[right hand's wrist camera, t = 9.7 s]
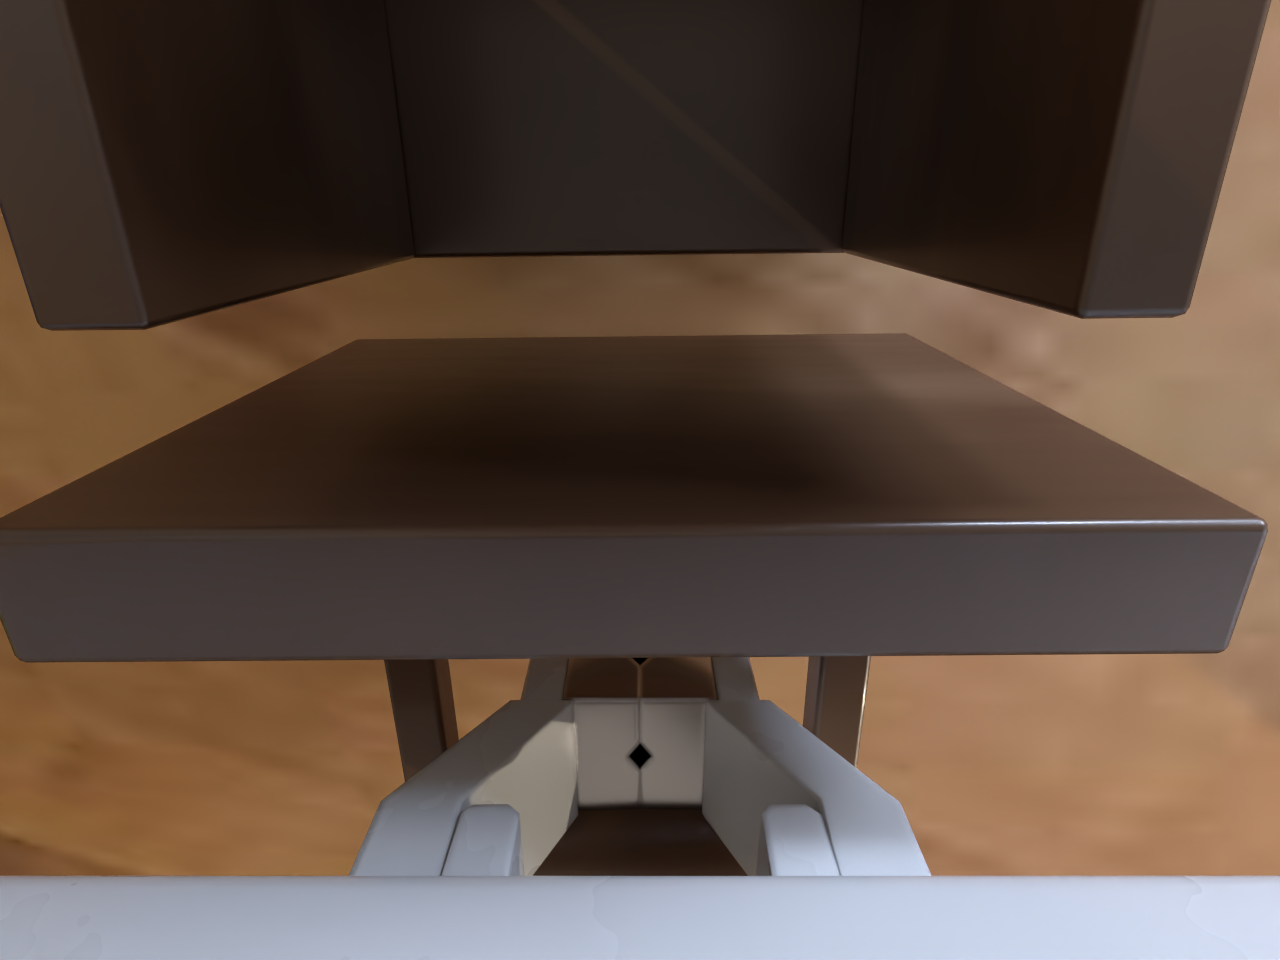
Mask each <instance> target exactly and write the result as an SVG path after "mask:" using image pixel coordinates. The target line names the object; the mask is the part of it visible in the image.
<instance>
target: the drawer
mask: <svg viewBox="0 0 1280 960" xmlns="http://www.w3.org/2000/svg"><path fill="white" fill-rule="evenodd" d="M1270 3H1271V0H0V207H1V210H2V214H3V217H4V220H5V223H6V226H7V229H8V232H9V235H10V239H11V242H12V245H13V248H14V251H15V254H16V257H17V260H18V264H19V267H20V270H21V273H22V276H23V279H24V282H25V285H26V289H27V292H28V295H29V298H30V301H31V304H32V307H33V310H34V314H35V317H36V320H37V322H38V324H39V325H40V326H41V328H45V329H49V330H52V331H64V330H145V329H149V328H152V327H156V326H160V325H164V324H167V323H171V322H175V321H179V320H182V319H186V318H190V317H194V316H197V315H201V314H205V313H209V312H212V311H216V310H220V309H224V308H227V307H231V306H235V305H239V304H242V303H246V302H250V301H254V300H257V299H261V298H265V297H269V296H272V295H276V294H280V293H284V292H287V291H291V290H295V289H299V288H302V287H306V286H310V285H314V284H317V283H321V282H325V281H329V280H332V279H336V278H340V277H344V276H347V275H351V274H355V273H359V272H362V271H366V270H370V269H374V268H377V267H381V266H385V265H389V264H392V263H396V262H400V261H404V260H407V259H411V258H444V257H526V256H608V255H690V254H772V253H848V254H851V255H855V256H858V257H862V258H866V259H869V260H873V261H876V262H880V263H884V264H887V265H891V266H894V267H898V268H902V269H905V270H909V271H912V272H916V273H920V274H923V275H927V276H930V277H934V278H938V279H941V280H945V281H948V282H952V283H956V284H959V285H963V286H966V287H970V288H974V289H977V290H981V291H984V292H988V293H992V294H995V295H999V296H1002V297H1006V298H1010V299H1013V300H1017V301H1020V302H1024V303H1028V304H1031V305H1035V306H1038V307H1042V308H1046V309H1049V310H1053V311H1056V312H1060V313H1064V314H1067V315H1071V316H1074V317H1078V318H1081V319H1089V318H1172V317H1175V316H1179V315H1182V314H1185V313H1186V311H1187V310H1188V308H1189V307H1190V303H1191V299H1192V296H1193V292H1194V288H1195V284H1196V281H1197V277H1198V273H1199V269H1200V266H1201V262H1202V258H1203V254H1204V251H1205V247H1206V243H1207V239H1208V236H1209V232H1210V228H1211V224H1212V221H1213V217H1214V213H1215V209H1216V206H1217V202H1218V198H1219V194H1220V191H1221V187H1222V183H1223V179H1224V176H1225V172H1226V168H1227V164H1228V161H1229V157H1230V153H1231V149H1232V146H1233V142H1234V138H1235V134H1236V131H1237V127H1238V123H1239V120H1240V116H1241V112H1242V108H1243V105H1244V101H1245V97H1246V93H1247V90H1248V86H1249V82H1250V78H1251V75H1252V71H1253V67H1254V63H1255V60H1256V56H1257V52H1258V48H1259V45H1260V41H1261V37H1262V33H1263V30H1264V26H1265V22H1266V18H1267V15H1268V11H1269V7H1270ZM1267 532H1268V527H1267V523H1266V522H1265V520H1264V519H1262V518H1260V517H1258V516H1256V515H1254V514H1253V513H1251V512H1249V511H1247V510H1245V509H1243V508H1241V507H1239V506H1237V505H1235V504H1233V503H1231V502H1229V501H1227V500H1226V499H1224V498H1222V497H1220V496H1218V495H1216V494H1214V493H1212V492H1210V491H1208V490H1206V489H1204V488H1202V487H1201V486H1199V485H1197V484H1195V483H1193V482H1191V481H1189V480H1187V479H1185V478H1183V477H1181V476H1179V475H1177V474H1176V473H1174V472H1172V471H1170V470H1168V469H1166V468H1164V467H1162V466H1160V465H1158V464H1156V463H1154V462H1152V461H1151V460H1149V459H1147V458H1145V457H1143V456H1141V455H1139V454H1137V453H1135V452H1133V451H1131V450H1129V449H1127V448H1126V447H1124V446H1122V445H1120V444H1118V443H1116V442H1114V441H1112V440H1110V439H1108V438H1106V437H1104V436H1102V435H1101V434H1099V433H1097V432H1095V431H1093V430H1091V429H1089V428H1087V427H1085V426H1083V425H1081V424H1079V423H1077V422H1076V421H1074V420H1072V419H1070V418H1068V417H1066V416H1064V415H1062V414H1060V413H1058V412H1056V411H1054V410H1052V409H1051V408H1049V407H1047V406H1045V405H1043V404H1041V403H1039V402H1037V401H1035V400H1033V399H1031V398H1029V397H1027V396H1026V395H1024V394H1022V393H1020V392H1018V391H1016V390H1014V389H1012V388H1010V387H1008V386H1006V385H1004V384H1002V383H1001V382H999V381H997V380H995V379H993V378H991V377H989V376H987V375H985V374H983V373H981V372H979V371H977V370H976V369H974V368H972V367H970V366H968V365H966V364H964V363H962V362H960V361H958V360H956V359H954V358H952V357H950V356H949V355H947V354H945V353H943V352H941V351H939V350H937V349H935V348H933V347H931V346H929V345H927V344H925V343H924V342H922V341H920V340H918V339H916V338H914V337H912V336H910V335H908V334H906V333H902V334H813V335H725V336H636V337H547V338H459V339H370V340H356V341H353V342H351V343H349V344H347V345H345V346H343V347H341V348H339V349H337V350H335V351H333V352H331V353H329V354H327V355H325V356H323V357H321V358H319V359H317V360H315V361H313V362H311V363H309V364H307V365H305V366H303V367H301V368H299V369H297V370H295V371H293V372H291V373H289V374H287V375H285V376H283V377H281V378H279V379H277V380H275V381H273V382H271V383H269V384H267V385H265V386H263V387H261V388H259V389H257V390H255V391H253V392H251V393H249V394H247V395H245V396H243V397H241V398H239V399H237V400H235V401H233V402H231V403H229V404H227V405H225V406H223V407H221V408H219V409H217V410H215V411H213V412H211V413H209V414H207V415H205V416H203V417H201V418H199V419H197V420H195V421H193V422H191V423H189V424H187V425H185V426H183V427H181V428H179V429H177V430H175V431H173V432H171V433H169V434H167V435H165V436H163V437H161V438H159V439H157V440H155V441H153V442H151V443H149V444H147V445H145V446H143V447H141V448H139V449H137V450H135V451H133V452H131V453H129V454H127V455H125V456H123V457H121V458H119V459H117V460H115V461H113V462H111V463H109V464H107V465H105V466H103V467H101V468H99V469H97V470H95V471H93V472H91V473H89V474H87V475H85V476H83V477H81V478H79V479H77V480H75V481H73V482H71V483H69V484H67V485H65V486H63V487H61V488H59V489H57V490H55V491H53V492H51V493H49V494H47V495H45V496H43V497H41V498H39V499H37V500H35V501H33V502H31V503H29V504H27V505H25V506H23V507H21V508H19V509H17V510H15V511H13V512H11V513H9V514H7V515H5V516H3V517H1V518H0V619H1V622H2V624H3V627H4V629H5V632H6V634H7V637H8V639H9V642H10V644H11V647H12V649H13V652H14V654H15V656H16V657H17V658H18V659H19V660H21V661H23V662H139V661H270V660H384V662H385V668H386V673H387V679H388V685H389V691H390V697H391V702H392V708H393V714H394V720H395V726H396V732H397V737H398V743H399V749H400V755H401V761H402V766H403V772H404V778H405V782H406V781H408V780H409V779H410V778H411V777H413V776H414V775H415V774H417V773H418V772H419V771H420V770H422V769H423V768H424V767H426V766H427V765H428V764H429V763H431V762H432V761H433V760H435V759H436V758H437V757H438V756H440V755H441V754H442V753H444V752H445V751H446V750H447V749H449V748H450V747H451V746H453V745H454V744H455V743H456V742H458V741H459V738H458V731H457V723H456V715H455V708H454V700H453V693H452V685H451V678H450V670H449V663H448V659H532V658H662V657H793V656H809V663H808V674H807V685H806V697H805V708H804V719H803V727H804V728H806V729H807V730H808V731H809V732H811V733H812V734H813V735H815V736H816V737H817V738H818V739H820V740H821V741H822V742H824V743H825V744H826V745H827V746H829V747H830V748H831V749H832V750H834V751H835V752H836V753H838V754H839V755H840V756H841V757H843V758H844V759H845V760H847V761H848V762H849V763H850V764H852V765H853V766H854V767H855V768H857V761H858V754H859V746H860V738H861V730H862V722H863V715H864V707H865V699H866V691H867V683H868V676H869V668H870V660H871V656H924V655H1055V654H1185V653H1219V652H1222V651H1224V650H1225V649H1226V648H1227V647H1228V645H1229V642H1230V639H1231V636H1232V633H1233V631H1234V628H1235V625H1236V622H1237V619H1238V616H1239V613H1240V610H1241V607H1242V604H1243V602H1244V599H1245V596H1246V593H1247V590H1248V587H1249V584H1250V581H1251V578H1252V576H1253V573H1254V570H1255V567H1256V564H1257V561H1258V558H1259V555H1260V552H1261V550H1262V547H1263V544H1264V541H1265V538H1266V535H1267ZM533 876H748V875H747V874H746V872H745V871H744V870H743V868H742V867H741V866H740V864H739V863H738V862H737V860H736V859H735V858H734V856H733V855H732V854H731V852H730V851H729V850H728V848H727V847H726V846H725V844H724V843H723V842H722V840H721V839H720V838H719V836H718V835H717V834H716V832H715V831H714V830H713V828H712V827H711V826H710V824H709V823H708V822H707V820H706V819H705V817H704V816H703V814H702V810H665V809H632V810H598V811H578V816H577V817H576V819H575V820H574V821H573V823H572V824H571V825H570V827H569V828H568V829H567V831H566V832H565V833H564V835H563V836H562V837H561V839H560V840H559V841H558V843H557V844H556V845H555V847H554V848H553V849H552V851H551V852H550V853H549V854H548V856H547V857H546V858H545V860H544V861H543V862H542V864H541V865H540V866H539V868H538V869H537V870H536V872H535V873H534V874H533Z"/></svg>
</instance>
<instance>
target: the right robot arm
mask: <svg viewBox="0 0 1280 960" xmlns="http://www.w3.org/2000/svg"><path fill="white" fill-rule="evenodd" d="M632 809H665V810H702V814H703V816H704V817H705V819H706V820H707V822H708V823H709V824H710V826H711V827H712V828H713V830H714V831H715V832H716V834H717V835H718V836H719V838H720V839H721V840H722V842H723V843H724V844H725V846H726V847H727V848H728V850H729V851H730V852H731V854H732V855H733V856H734V858H735V859H736V860H737V862H738V863H739V864H740V866H741V867H742V868H743V870H744V871H745V872H746V874H747V875H748V876H533V874H534V873H535V872H536V870H537V869H538V868H539V866H540V865H541V864H542V862H543V861H544V860H545V858H546V857H547V856H548V854H549V853H550V852H551V851H552V849H553V848H554V847H555V845H556V844H557V843H558V841H559V840H560V839H561V837H562V836H563V835H564V833H565V832H566V831H567V829H568V828H569V827H570V825H571V824H572V823H573V821H574V820H575V819H576V817H577V816H578V811H598V810H632ZM0 960H1280V876H931V874H930V871H929V869H928V867H927V864H926V862H925V860H924V857H923V855H922V853H921V850H920V848H919V846H918V843H917V841H916V839H915V836H914V834H913V832H912V829H911V827H910V825H909V822H908V820H907V817H906V815H905V813H904V810H903V808H902V806H901V803H900V802H899V801H898V800H896V799H895V798H894V797H893V796H891V795H890V794H889V793H887V792H886V791H885V790H884V789H882V788H881V787H880V786H878V785H877V784H876V783H875V782H873V781H872V780H871V779H870V778H868V777H867V776H866V775H864V774H863V773H862V772H861V771H859V770H858V769H857V768H855V767H854V766H853V765H852V764H850V763H849V762H848V761H847V760H845V759H844V758H843V757H841V756H840V755H839V754H838V753H836V752H835V751H834V750H832V749H831V748H830V747H829V746H827V745H826V744H825V743H824V742H822V741H821V740H820V739H818V738H817V737H816V736H815V735H813V734H812V733H811V732H809V731H808V730H807V729H806V728H804V727H803V726H802V725H801V724H799V723H798V722H797V721H795V720H794V719H793V718H792V717H790V716H789V715H788V714H787V713H785V712H784V711H783V710H781V709H780V708H779V707H778V706H776V705H775V704H774V703H772V702H771V701H770V700H759V696H758V692H757V687H756V683H755V679H754V675H753V671H752V667H751V663H750V658H749V657H662V658H532V659H530V662H529V667H528V671H527V675H526V679H525V683H524V688H523V692H522V696H521V700H511V701H509V702H508V703H506V704H505V705H504V706H503V707H501V708H500V709H499V710H497V711H496V712H495V713H494V714H492V715H491V716H490V717H488V718H487V719H486V720H485V721H483V722H482V723H481V724H479V725H478V726H477V727H476V728H474V729H473V730H472V731H470V732H469V733H468V734H467V735H465V736H464V737H463V738H461V739H460V740H459V741H458V742H456V743H455V744H454V745H453V746H451V747H450V748H449V749H447V750H446V751H445V752H444V753H442V754H441V755H440V756H438V757H437V758H436V759H435V760H433V761H432V762H431V763H429V764H428V765H427V766H426V767H424V768H423V769H422V770H420V771H419V772H418V773H417V774H415V775H414V776H413V777H411V778H410V779H409V780H408V781H406V782H405V783H404V784H402V785H401V786H400V787H399V788H397V789H396V790H395V791H393V792H392V793H391V794H390V795H388V796H387V797H386V798H384V799H383V800H382V801H381V802H380V805H379V807H378V809H377V812H376V814H375V816H374V818H373V821H372V823H371V825H370V828H369V830H368V832H367V835H366V837H365V839H364V842H363V844H362V846H361V848H360V851H359V853H358V855H357V858H356V860H355V862H354V865H353V867H352V869H351V872H350V874H349V876H0Z"/></svg>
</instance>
